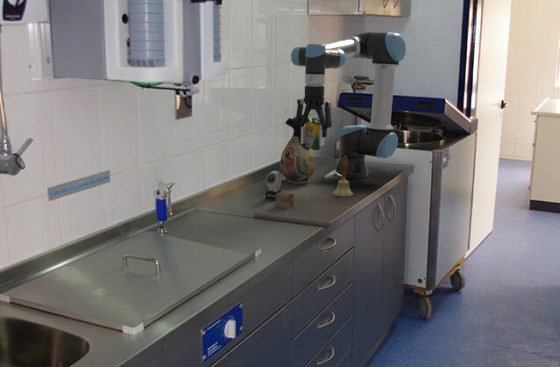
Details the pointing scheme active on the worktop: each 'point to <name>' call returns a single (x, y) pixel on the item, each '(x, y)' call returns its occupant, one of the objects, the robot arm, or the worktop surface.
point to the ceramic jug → (297, 157)
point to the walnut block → (284, 199)
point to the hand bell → (343, 181)
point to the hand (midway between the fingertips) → (312, 144)
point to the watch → (273, 184)
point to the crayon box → (313, 134)
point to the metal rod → (291, 219)
